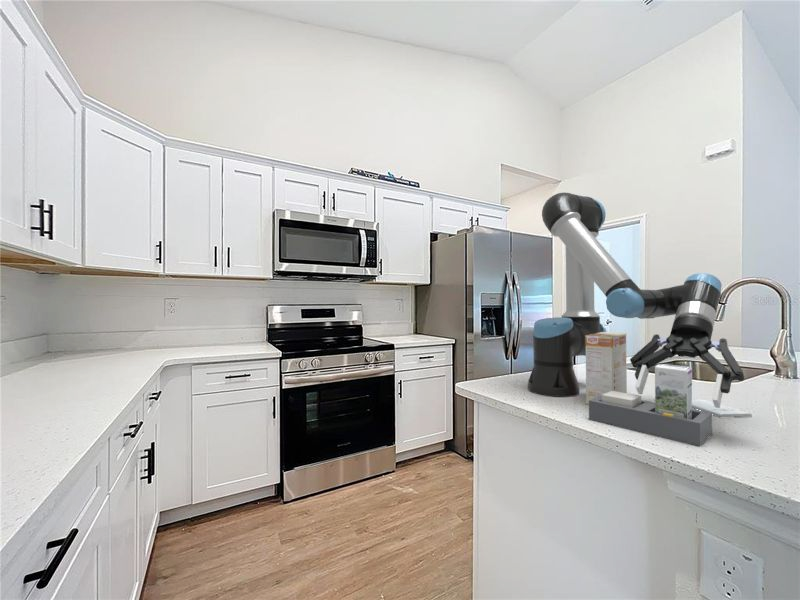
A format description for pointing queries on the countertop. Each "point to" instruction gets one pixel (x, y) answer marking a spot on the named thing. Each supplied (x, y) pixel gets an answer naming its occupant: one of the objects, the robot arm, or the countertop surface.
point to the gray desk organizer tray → (649, 418)
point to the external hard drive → (718, 409)
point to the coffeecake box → (605, 364)
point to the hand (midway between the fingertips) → (674, 397)
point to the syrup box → (673, 390)
